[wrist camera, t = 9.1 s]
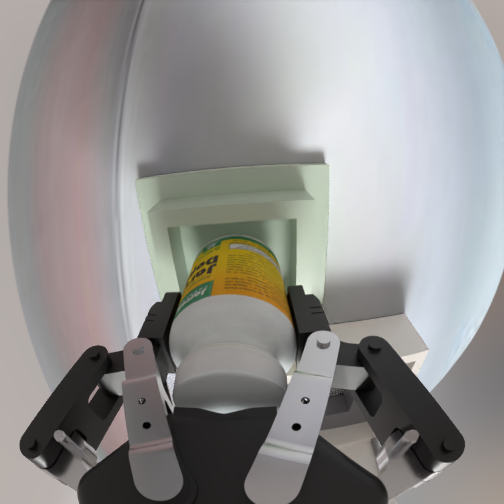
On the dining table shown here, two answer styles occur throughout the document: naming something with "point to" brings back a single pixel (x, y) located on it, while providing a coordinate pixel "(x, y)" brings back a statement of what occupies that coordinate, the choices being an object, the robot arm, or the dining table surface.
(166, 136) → the dining table surface
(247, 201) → the sage holder
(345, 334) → the case
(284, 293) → the supplement bottle
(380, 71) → the dining table surface
